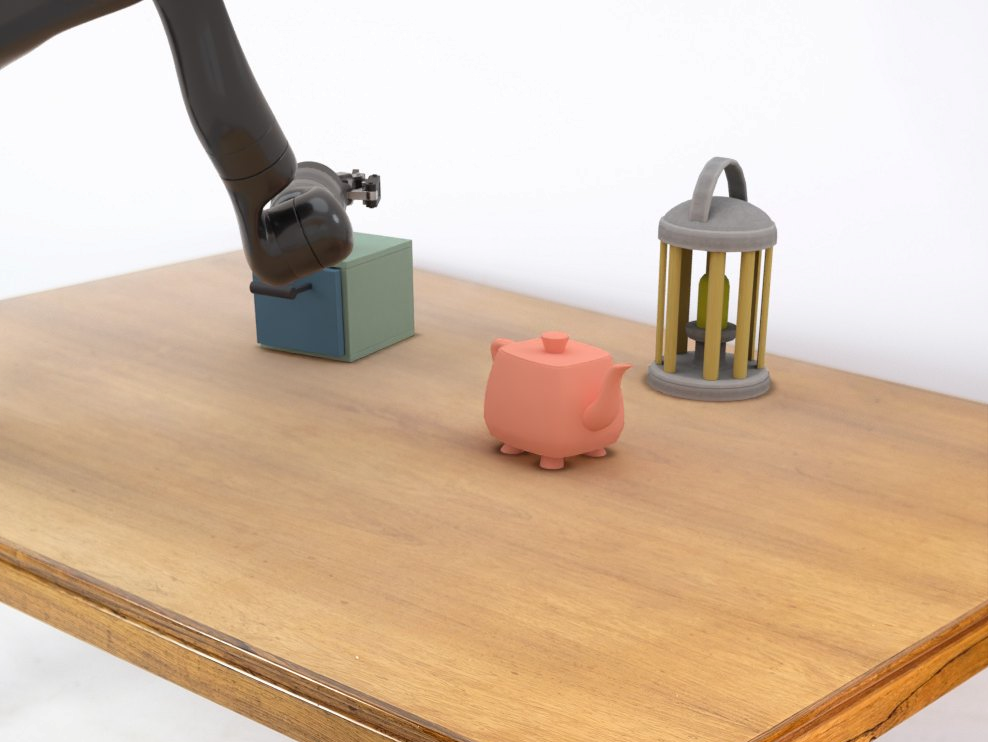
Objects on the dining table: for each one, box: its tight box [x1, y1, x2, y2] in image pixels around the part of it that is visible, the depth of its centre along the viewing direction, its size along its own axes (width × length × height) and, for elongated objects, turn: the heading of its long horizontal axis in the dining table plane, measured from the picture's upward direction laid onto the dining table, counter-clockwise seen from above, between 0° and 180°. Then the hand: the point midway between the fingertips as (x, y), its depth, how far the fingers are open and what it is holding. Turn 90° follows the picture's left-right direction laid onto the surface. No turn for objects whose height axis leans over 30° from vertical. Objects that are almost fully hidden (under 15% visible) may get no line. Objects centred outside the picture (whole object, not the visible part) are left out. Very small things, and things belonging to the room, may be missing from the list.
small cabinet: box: [260, 231, 416, 363], centre depth 196 cm, size 15×13×12 cm
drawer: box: [248, 267, 345, 357], centre depth 192 cm, size 18×11×10 cm, turn 156°
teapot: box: [483, 330, 634, 470], centre depth 161 cm, size 20×12×12 cm, turn 45°
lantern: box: [647, 156, 778, 402], centre depth 182 cm, size 14×14×25 cm
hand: (317, 177), depth 184 cm, fingers open, 8 cm apart
